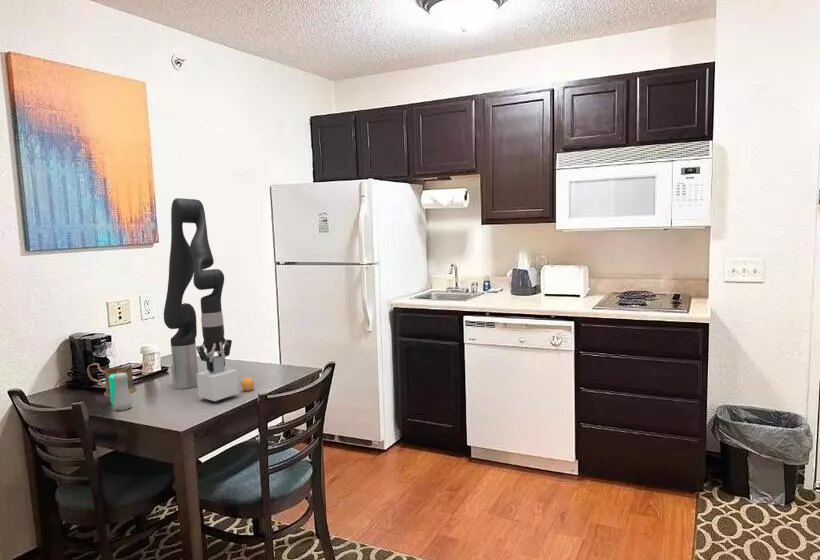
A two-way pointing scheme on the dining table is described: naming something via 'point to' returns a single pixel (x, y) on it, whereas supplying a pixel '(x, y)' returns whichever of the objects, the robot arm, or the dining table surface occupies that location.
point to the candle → (112, 387)
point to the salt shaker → (122, 392)
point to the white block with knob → (217, 381)
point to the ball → (247, 384)
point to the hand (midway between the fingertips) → (216, 369)
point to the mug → (114, 371)
